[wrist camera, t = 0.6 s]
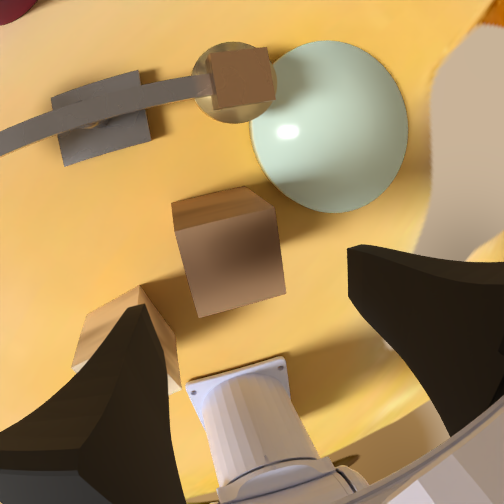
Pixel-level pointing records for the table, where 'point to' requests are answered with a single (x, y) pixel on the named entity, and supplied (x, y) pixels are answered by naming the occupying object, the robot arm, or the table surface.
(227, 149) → the table surface
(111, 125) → the balance
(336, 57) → the dish
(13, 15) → the cup
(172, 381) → the maple block
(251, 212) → the walnut block
